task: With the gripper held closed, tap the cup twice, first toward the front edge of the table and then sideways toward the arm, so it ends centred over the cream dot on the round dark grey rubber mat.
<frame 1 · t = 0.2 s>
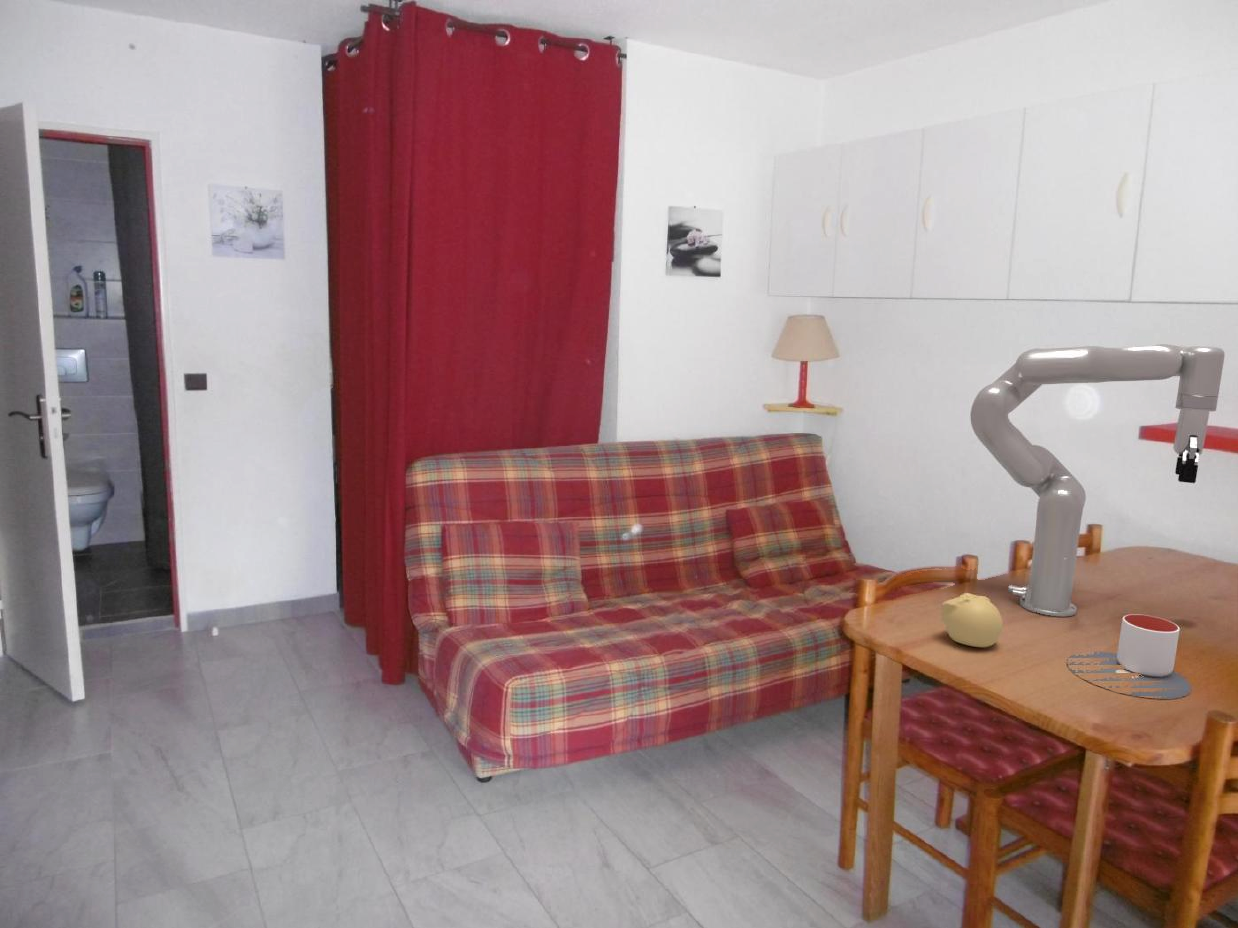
hand: (1184, 478, 190), 36 cm above the table, tool pointing down, fingers open, 9 cm apart
sculpture: (970, 642, 187), on the table
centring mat: (1126, 674, 172), on the table
cup: (1143, 669, 175), resting on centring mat
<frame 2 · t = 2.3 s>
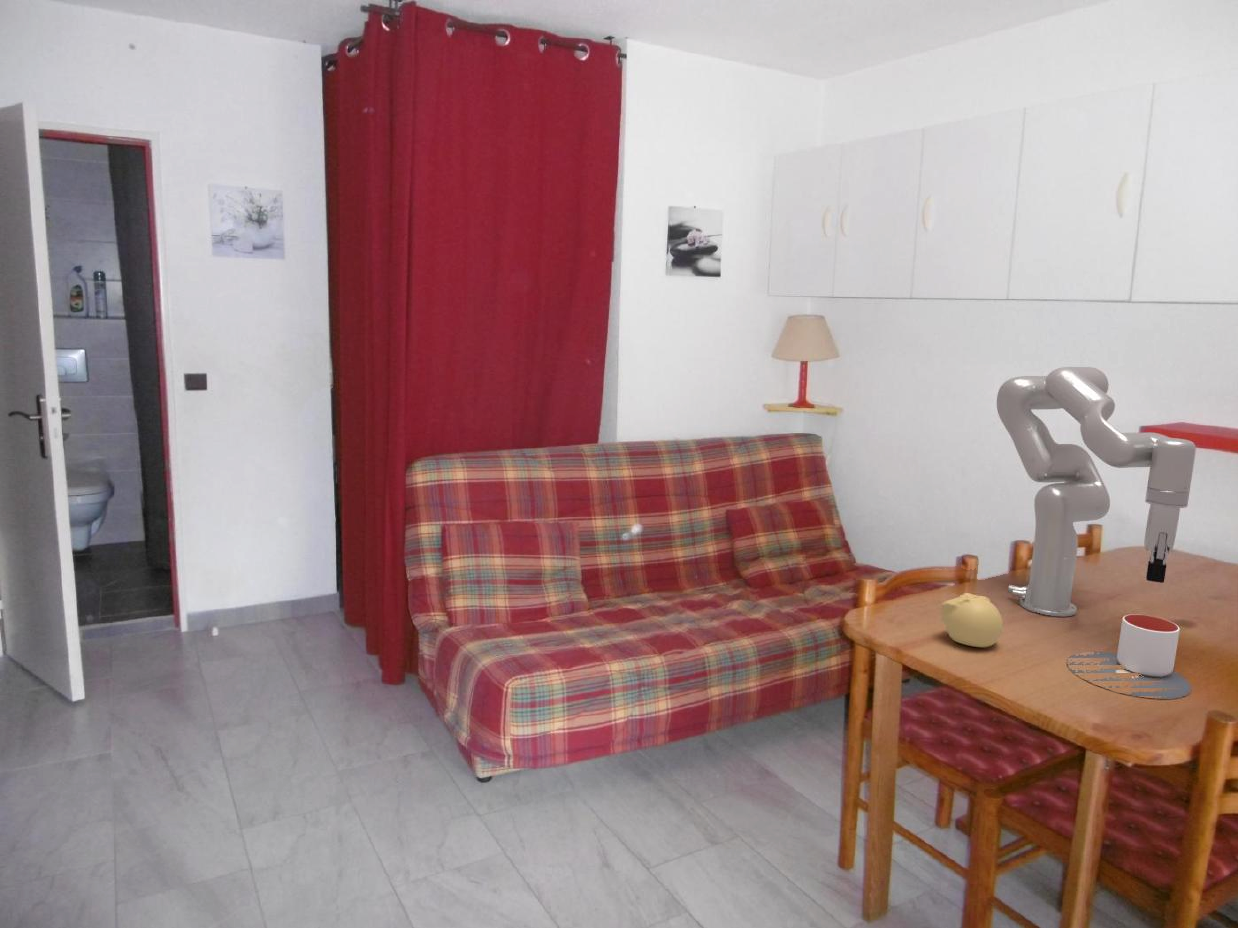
hand: (1154, 580, 181), 16 cm above the table, tool pointing down, fingers closed
nothing on the table moved.
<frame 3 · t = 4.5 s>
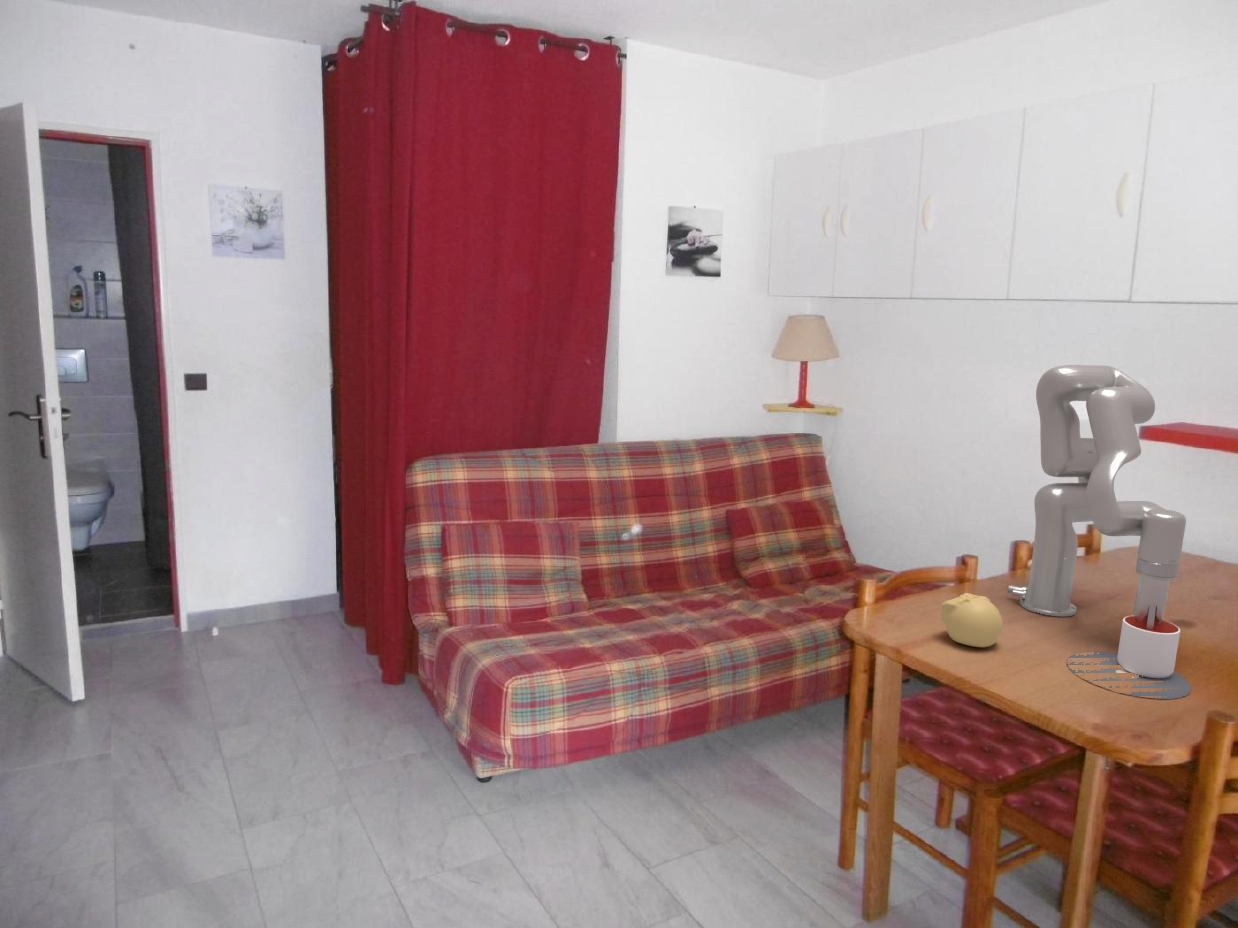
hand: (1144, 649, 181), 2 cm above the table, tool pointing down, fingers closed
cup: (1144, 670, 174), resting on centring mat, touching gripper
everything else where it was.
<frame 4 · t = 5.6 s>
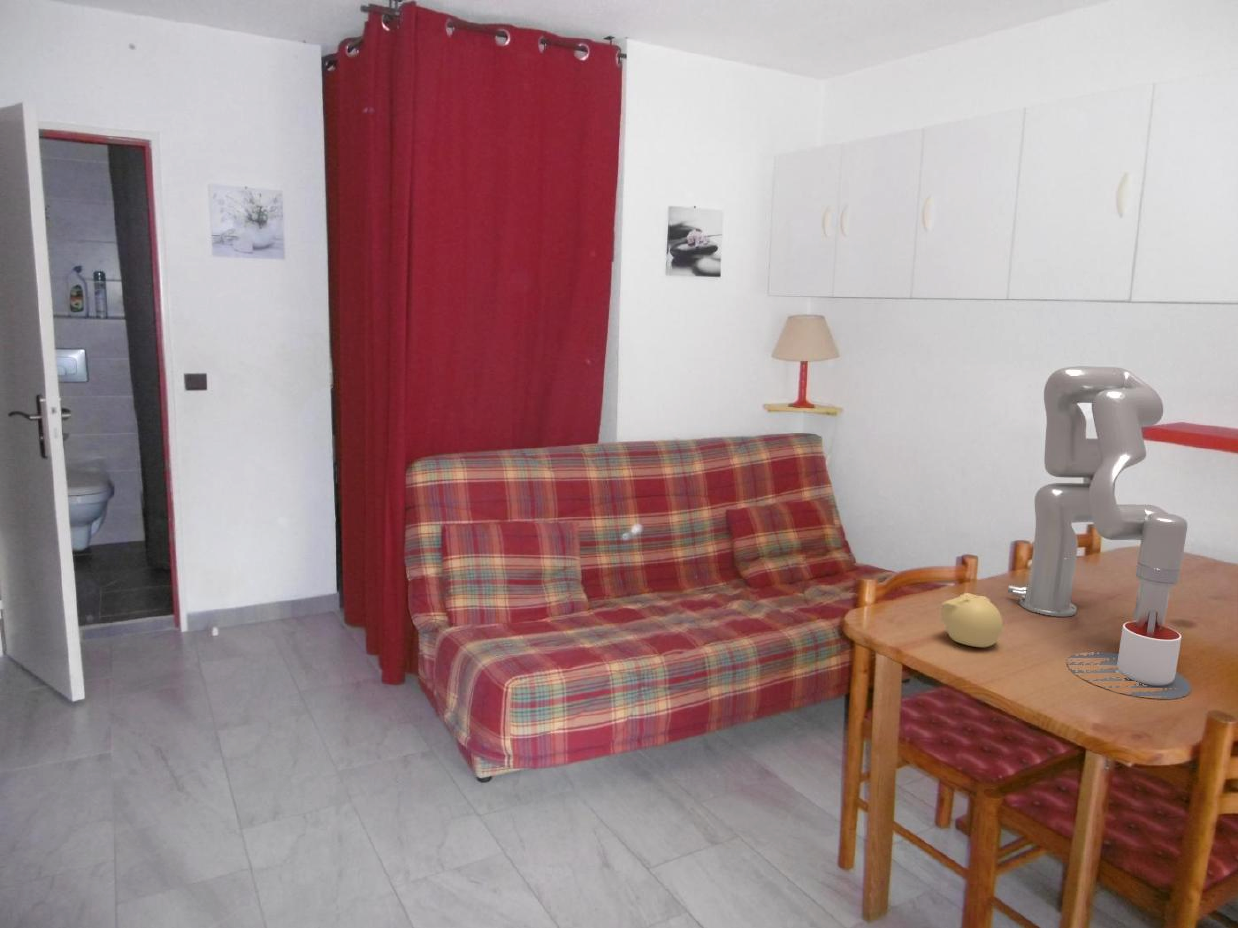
hand: (1144, 656, 178), 2 cm above the table, tool pointing down, fingers closed
cup: (1144, 677, 171), resting on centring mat, touching gripper
everything else where it was.
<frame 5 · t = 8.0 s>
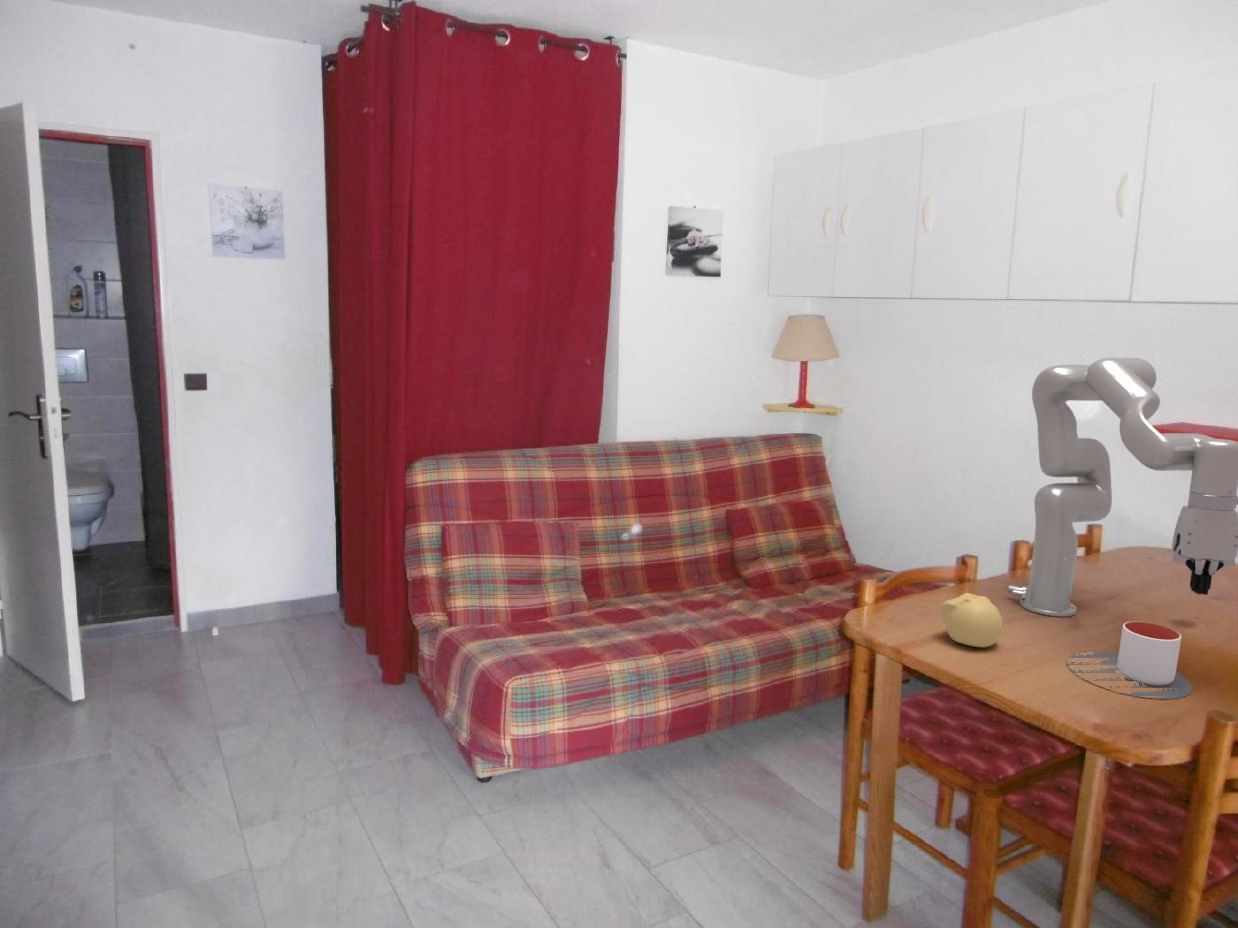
hand: (1199, 592, 168), 18 cm above the table, tool pointing down, fingers closed
cup: (1144, 677, 171), resting on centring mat
everything else where it was.
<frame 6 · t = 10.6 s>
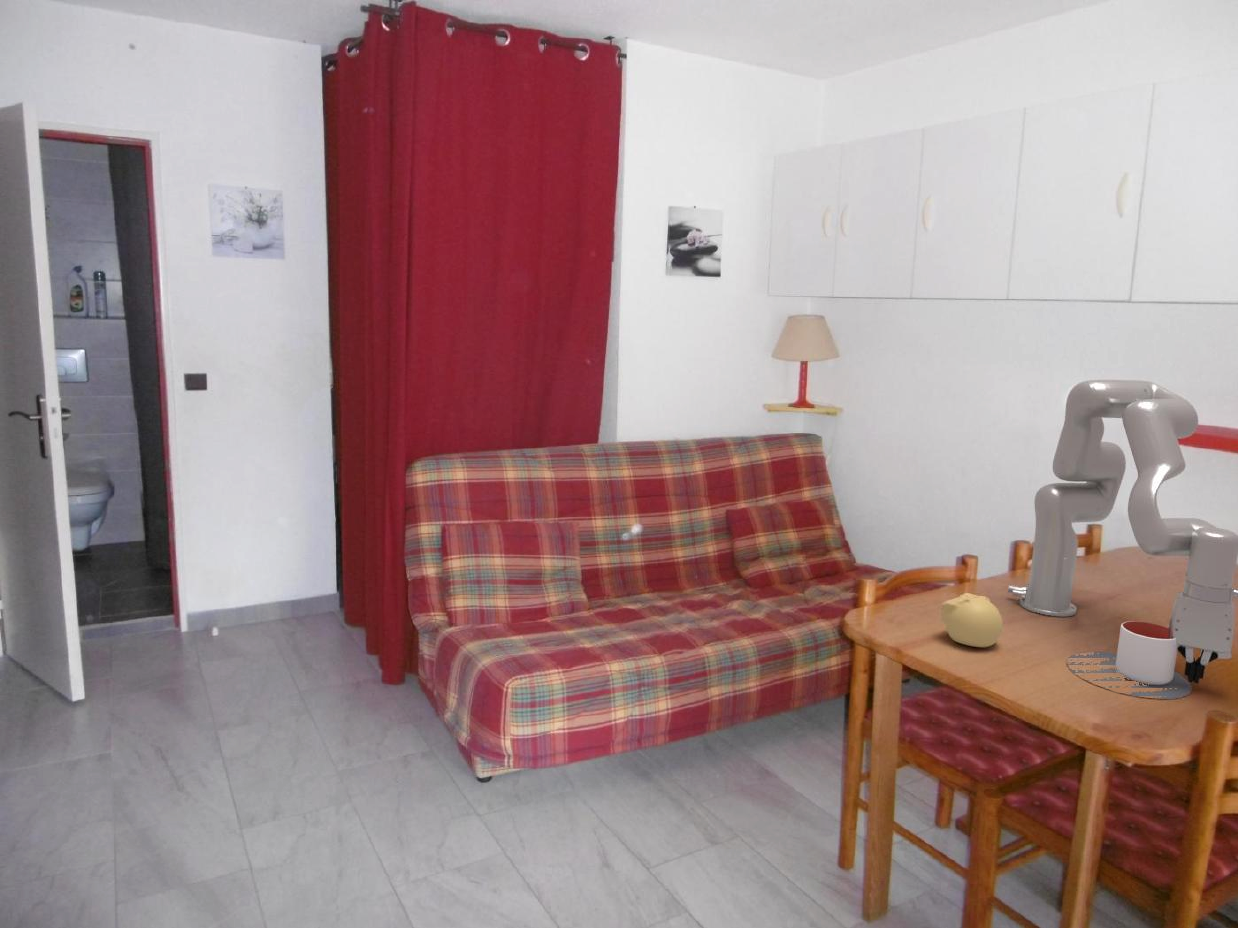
hand: (1192, 680, 166), 2 cm above the table, tool pointing down, fingers closed
cup: (1142, 677, 171), resting on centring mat, touching gripper
everything else where it was.
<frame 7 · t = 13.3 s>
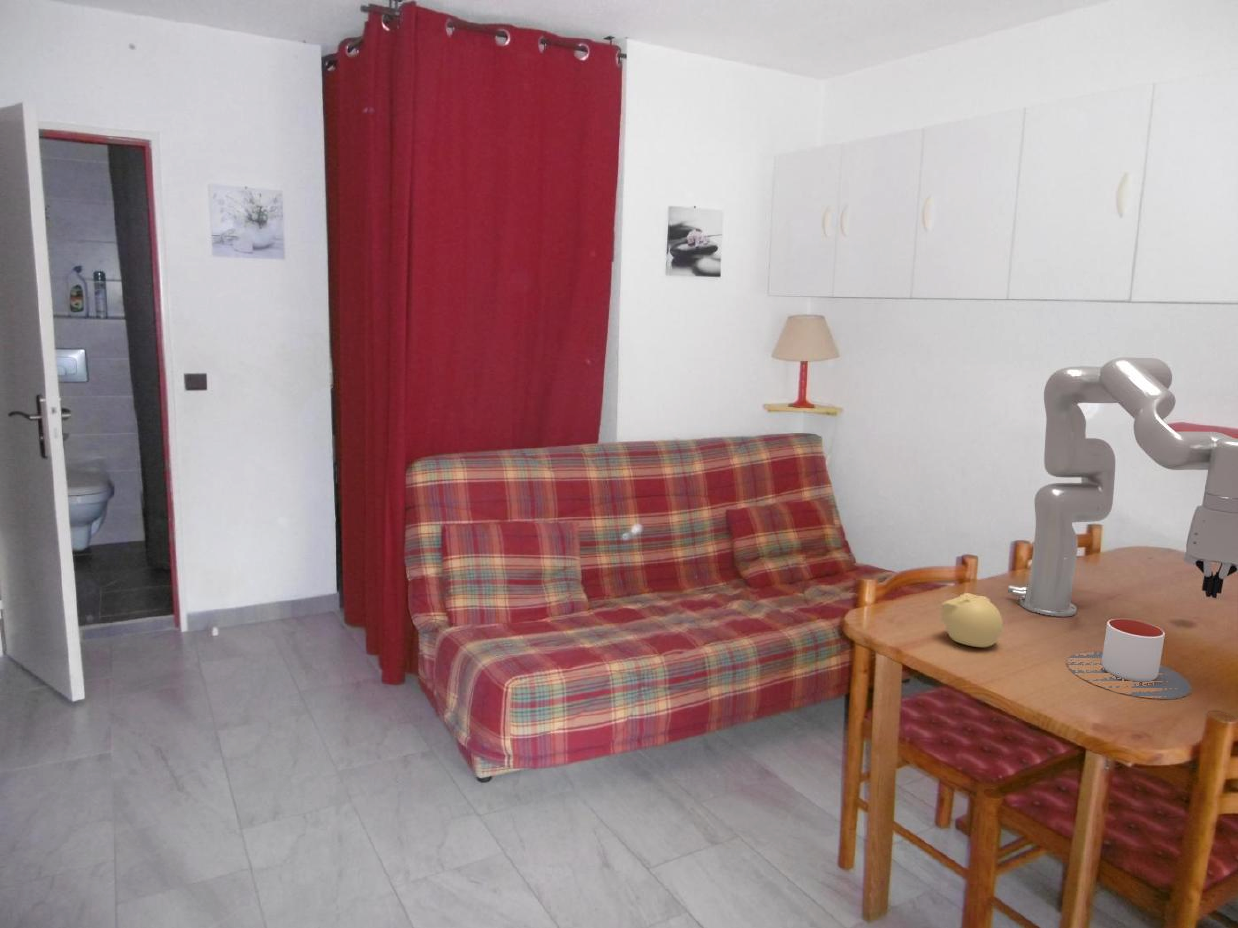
hand: (1210, 595, 164), 19 cm above the table, tool pointing down, fingers closed
cup: (1128, 674, 172), resting on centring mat
everything else where it was.
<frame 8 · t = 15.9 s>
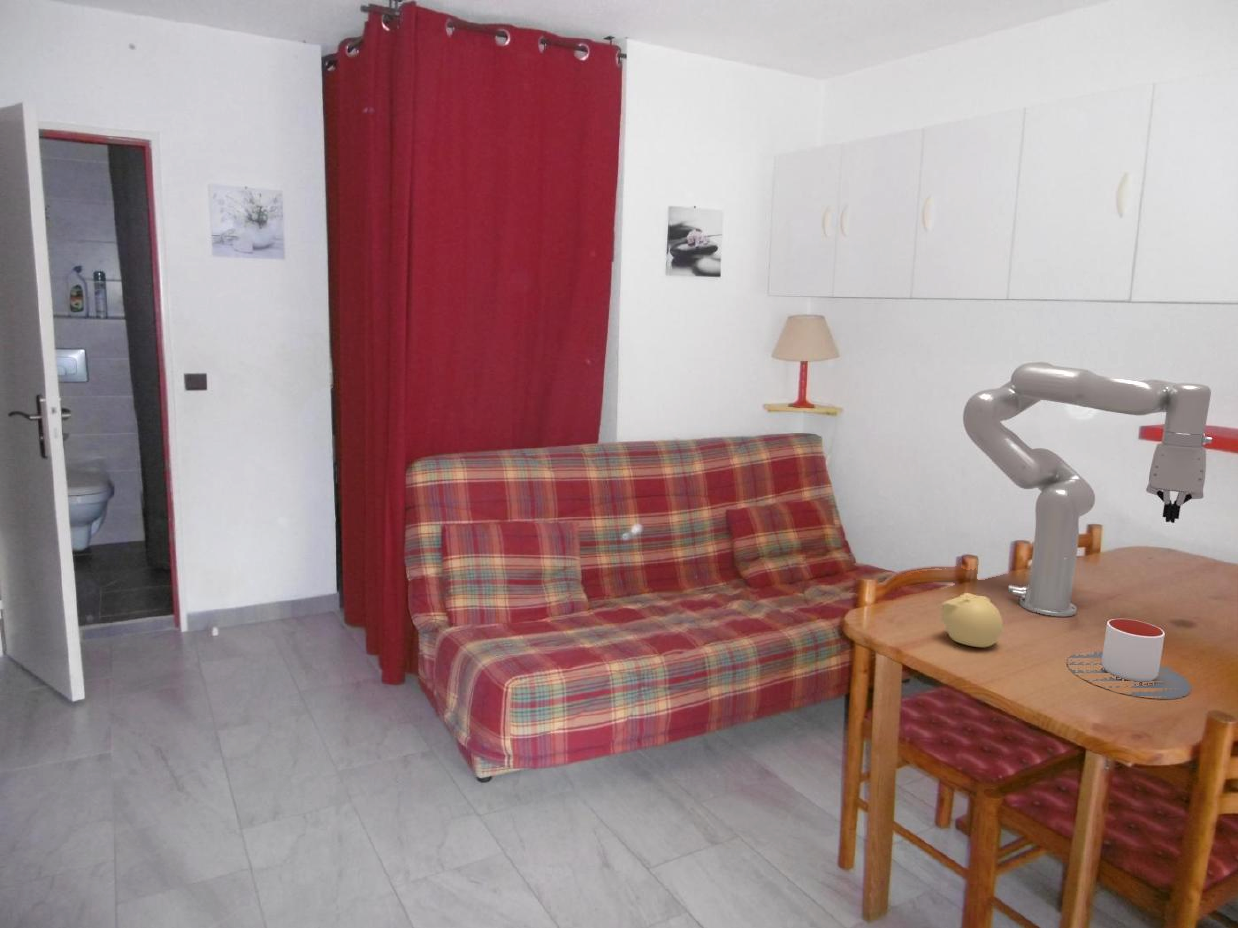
hand: (1169, 521, 188), 27 cm above the table, tool pointing down, fingers closed
nothing on the table moved.
at the end: cup 0.3 cm from the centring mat (horizontally); cup tilted 0°; cup moved 5.6 cm from its start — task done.
